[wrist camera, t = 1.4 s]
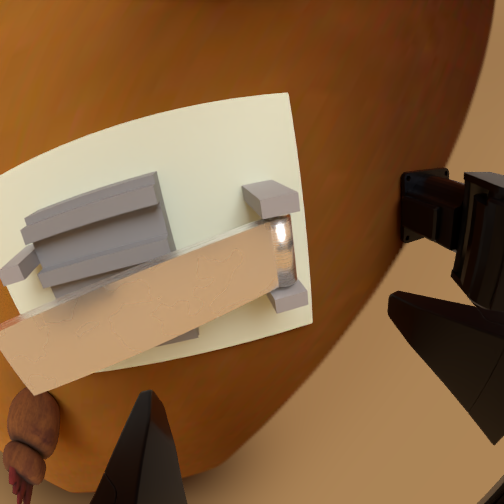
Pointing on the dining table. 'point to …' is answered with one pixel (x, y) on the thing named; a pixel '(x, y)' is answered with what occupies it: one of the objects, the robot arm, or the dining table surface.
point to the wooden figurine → (30, 440)
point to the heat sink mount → (158, 210)
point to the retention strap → (148, 304)
